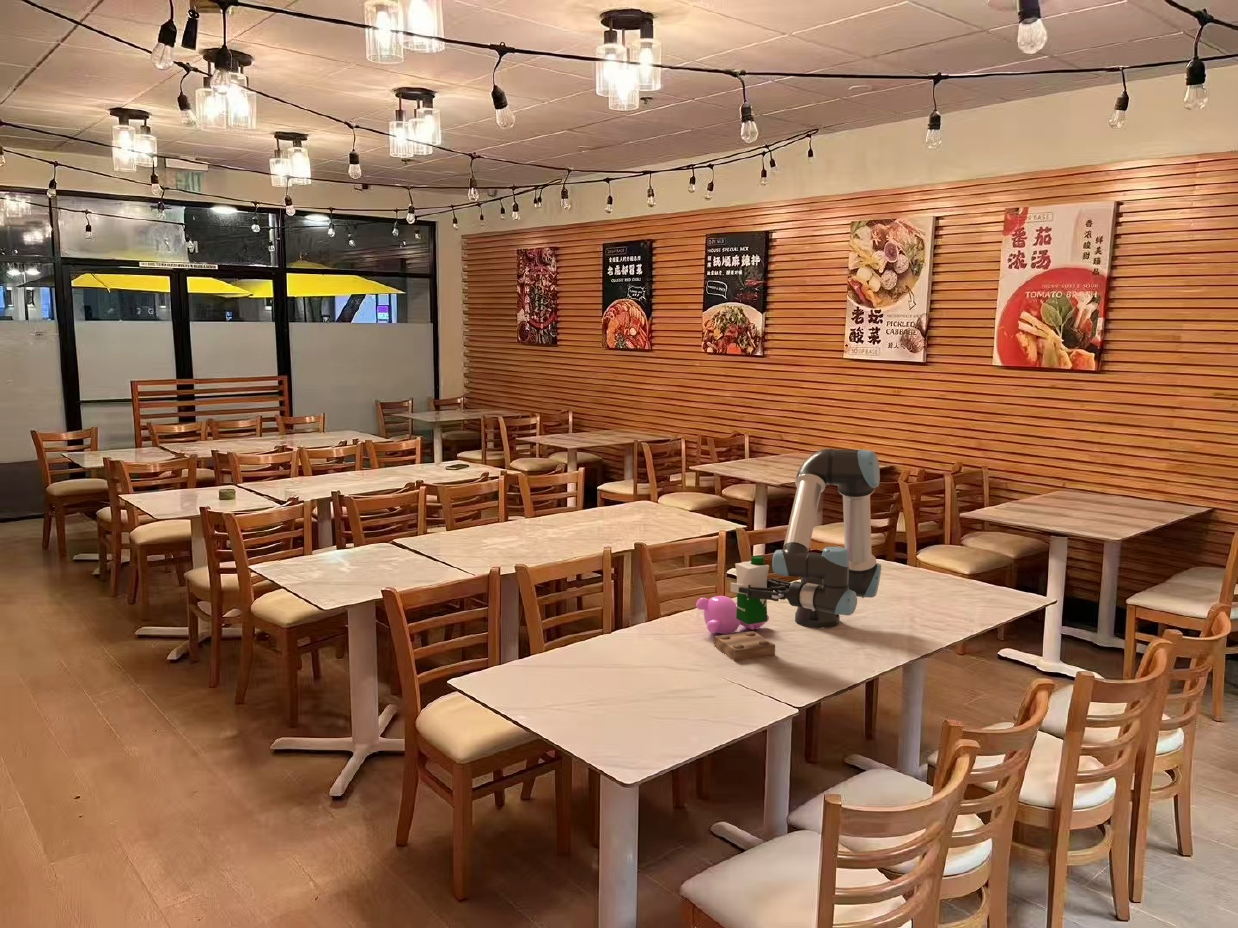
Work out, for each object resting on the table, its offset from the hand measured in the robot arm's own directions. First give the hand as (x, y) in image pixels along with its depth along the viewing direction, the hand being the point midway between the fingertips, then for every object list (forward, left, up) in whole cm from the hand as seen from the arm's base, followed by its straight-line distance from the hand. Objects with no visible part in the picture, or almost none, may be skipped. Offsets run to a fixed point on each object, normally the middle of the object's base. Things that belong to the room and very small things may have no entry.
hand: (738, 583), depth 285 cm
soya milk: (+4, +2, -11) cm, 12 cm away
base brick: (+3, 0, -22) cm, 22 cm away
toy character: (-16, +6, -21) cm, 27 cm away
